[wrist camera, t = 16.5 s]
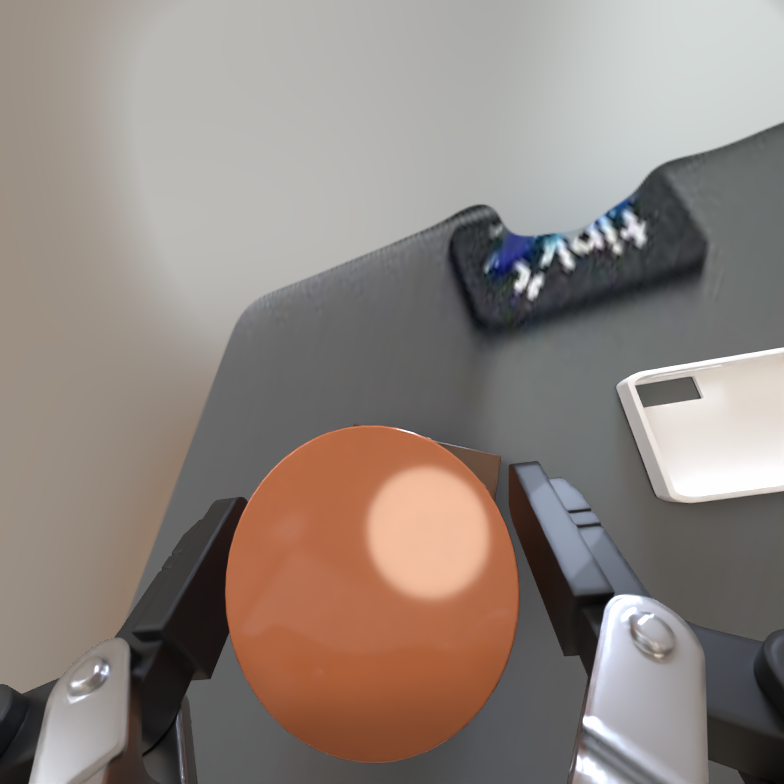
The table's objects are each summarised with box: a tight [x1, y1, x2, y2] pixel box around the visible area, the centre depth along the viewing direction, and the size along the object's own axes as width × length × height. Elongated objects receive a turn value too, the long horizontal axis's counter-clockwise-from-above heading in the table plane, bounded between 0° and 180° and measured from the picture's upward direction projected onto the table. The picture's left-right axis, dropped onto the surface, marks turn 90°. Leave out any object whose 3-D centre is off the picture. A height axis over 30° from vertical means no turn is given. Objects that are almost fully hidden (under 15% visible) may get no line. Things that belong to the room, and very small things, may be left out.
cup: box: [225, 425, 520, 763], centre depth 12 cm, size 6×6×12 cm
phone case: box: [616, 348, 784, 503], centre depth 18 cm, size 7×1×15 cm
